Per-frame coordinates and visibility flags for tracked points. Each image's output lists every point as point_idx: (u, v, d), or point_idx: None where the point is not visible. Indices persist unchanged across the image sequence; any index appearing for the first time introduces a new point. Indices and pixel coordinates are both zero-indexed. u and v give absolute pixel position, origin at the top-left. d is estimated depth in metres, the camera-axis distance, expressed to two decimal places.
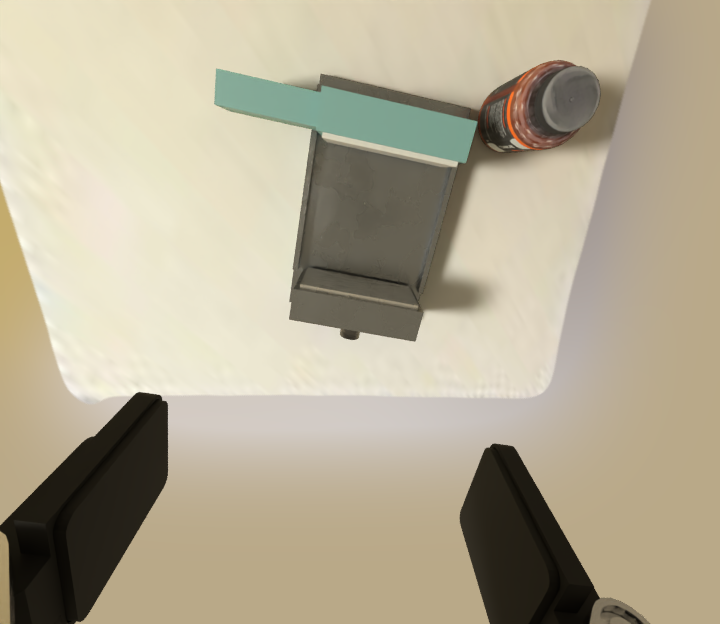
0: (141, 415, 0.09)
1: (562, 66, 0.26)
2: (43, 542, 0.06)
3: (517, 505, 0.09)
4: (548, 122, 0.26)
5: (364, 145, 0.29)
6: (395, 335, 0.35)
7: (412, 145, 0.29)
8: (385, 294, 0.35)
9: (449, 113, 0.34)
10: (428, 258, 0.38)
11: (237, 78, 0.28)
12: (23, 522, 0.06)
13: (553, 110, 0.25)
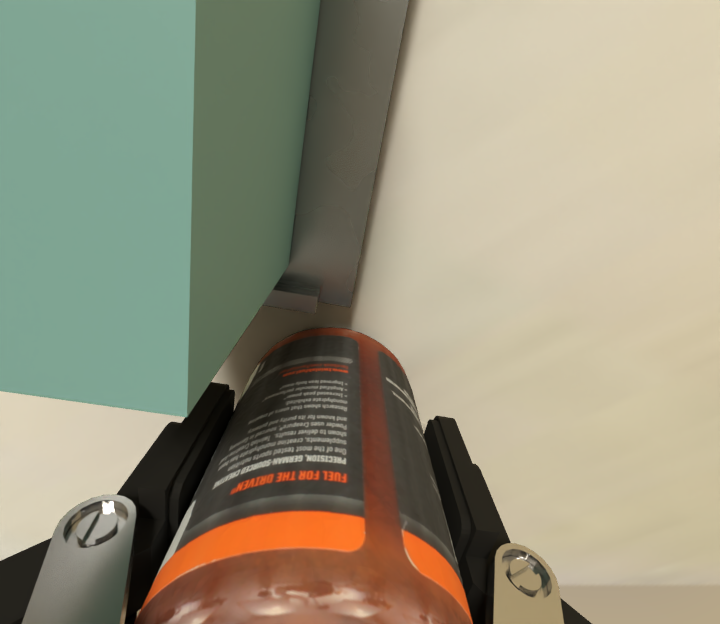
0: (217, 402, 0.10)
1: None
2: (159, 507, 0.07)
3: (446, 467, 0.09)
4: None
5: None
6: None
7: None
8: None
9: (335, 244, 0.11)
10: None
11: None
12: (146, 489, 0.07)
13: None
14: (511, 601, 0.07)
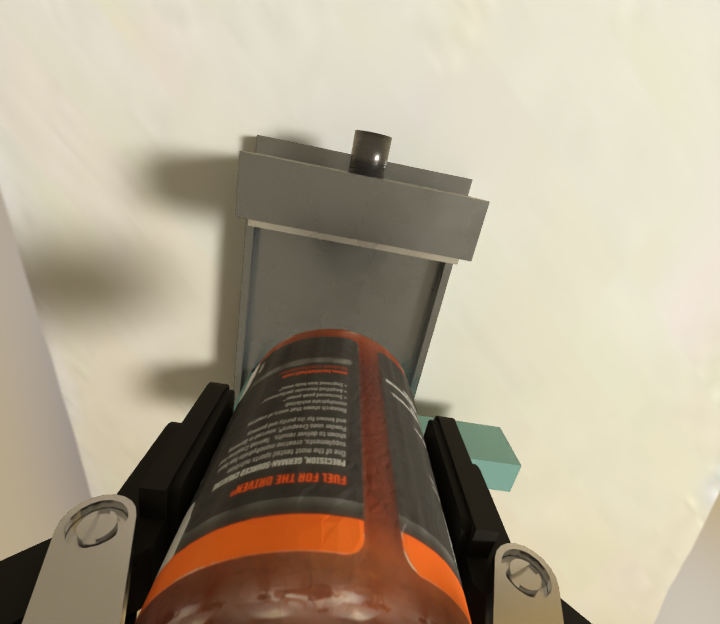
0: (217, 402, 0.10)
1: None
2: (160, 508, 0.07)
3: (446, 467, 0.09)
4: None
5: None
6: (282, 165, 0.17)
7: None
8: None
9: None
10: (249, 261, 0.25)
11: (489, 485, 0.26)
12: (146, 489, 0.07)
13: None
14: (511, 601, 0.07)
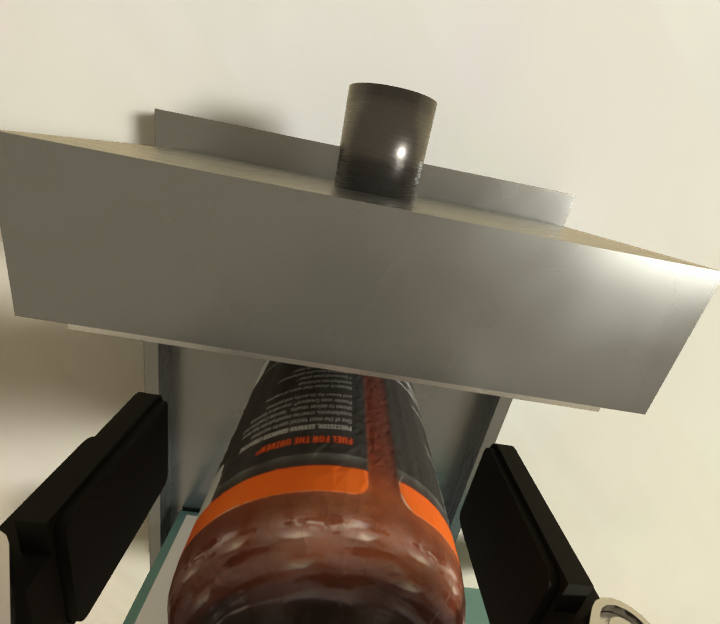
0: (141, 415, 0.09)
1: None
2: (44, 542, 0.06)
3: (517, 505, 0.09)
4: None
5: None
6: (126, 174, 0.06)
7: None
8: None
9: None
10: (155, 346, 0.13)
11: None
12: (24, 522, 0.06)
13: None
14: None
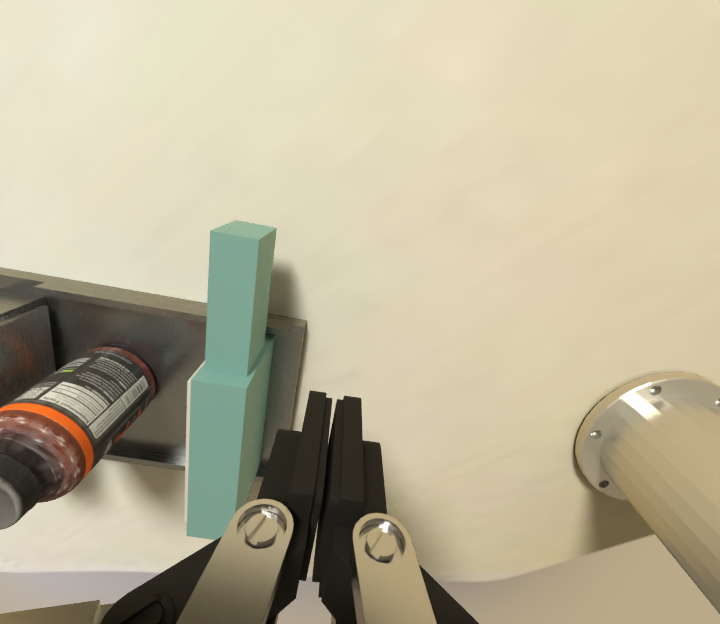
0: (324, 410, 0.10)
1: None
2: (305, 511, 0.08)
3: (336, 443, 0.09)
4: None
5: (187, 430, 0.22)
6: None
7: (194, 485, 0.23)
8: None
9: None
10: None
11: (249, 269, 0.19)
12: (296, 494, 0.08)
13: None
14: (375, 578, 0.07)
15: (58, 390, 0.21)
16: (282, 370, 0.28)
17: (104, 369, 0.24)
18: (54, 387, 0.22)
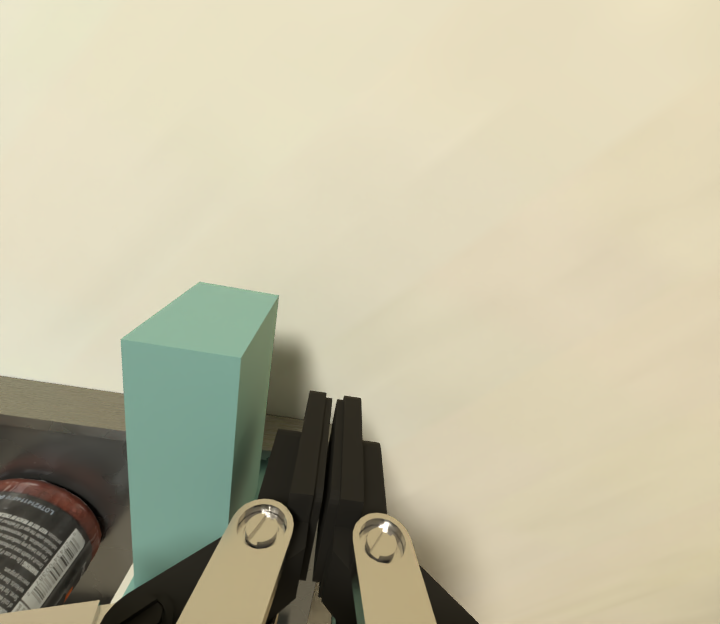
0: (324, 410, 0.10)
1: None
2: (305, 511, 0.08)
3: (336, 443, 0.09)
4: None
5: None
6: None
7: None
8: None
9: (294, 617, 0.20)
10: None
11: (220, 419, 0.08)
12: (297, 494, 0.08)
13: None
14: (375, 578, 0.07)
15: None
16: None
17: None
18: None
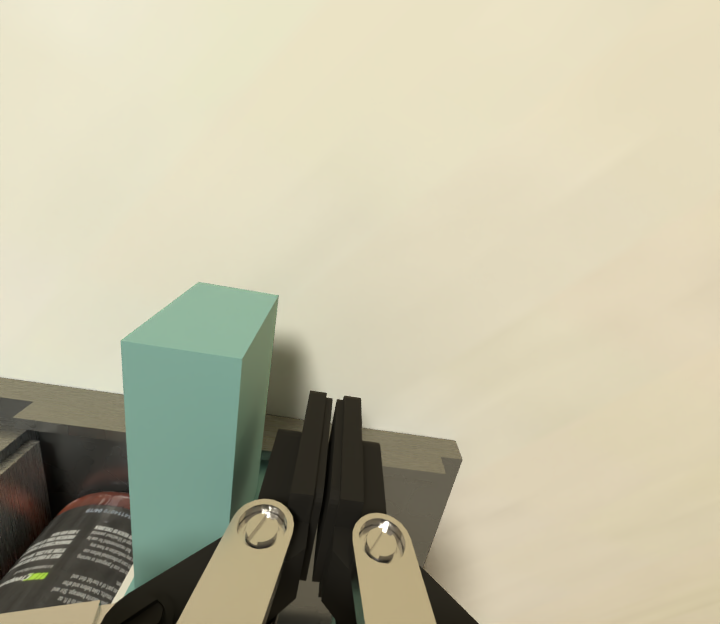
0: (324, 410, 0.10)
1: None
2: (305, 511, 0.08)
3: (336, 443, 0.09)
4: None
5: None
6: None
7: None
8: None
9: None
10: None
11: (221, 420, 0.08)
12: (297, 494, 0.08)
13: None
14: (375, 578, 0.07)
15: None
16: (416, 518, 0.18)
17: (103, 557, 0.14)
18: None
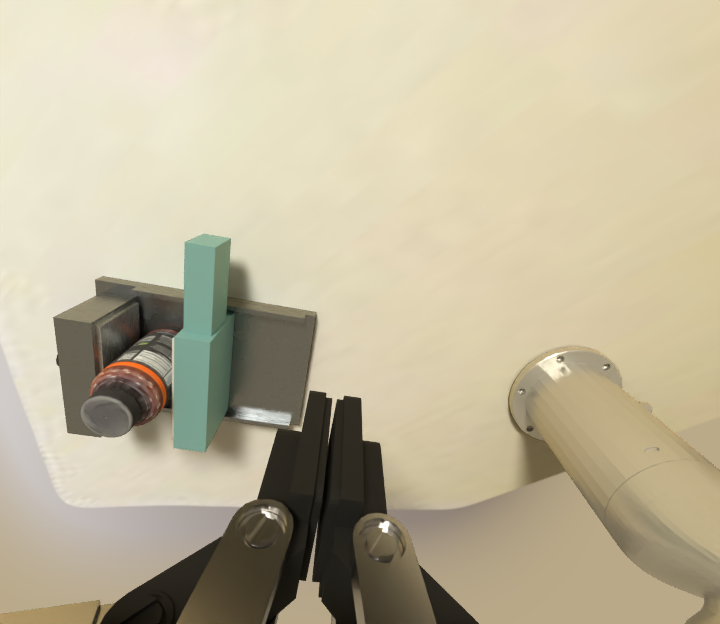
0: (323, 410, 0.10)
1: (114, 377, 0.30)
2: (305, 511, 0.08)
3: (336, 443, 0.09)
4: None
5: (173, 372, 0.33)
6: (68, 416, 0.34)
7: (178, 410, 0.34)
8: None
9: (293, 411, 0.43)
10: (171, 409, 0.41)
11: (210, 266, 0.30)
12: (296, 494, 0.08)
13: (93, 425, 0.29)
14: (375, 578, 0.07)
15: (143, 355, 0.33)
16: (299, 347, 0.40)
17: (166, 343, 0.36)
18: (139, 352, 0.33)
